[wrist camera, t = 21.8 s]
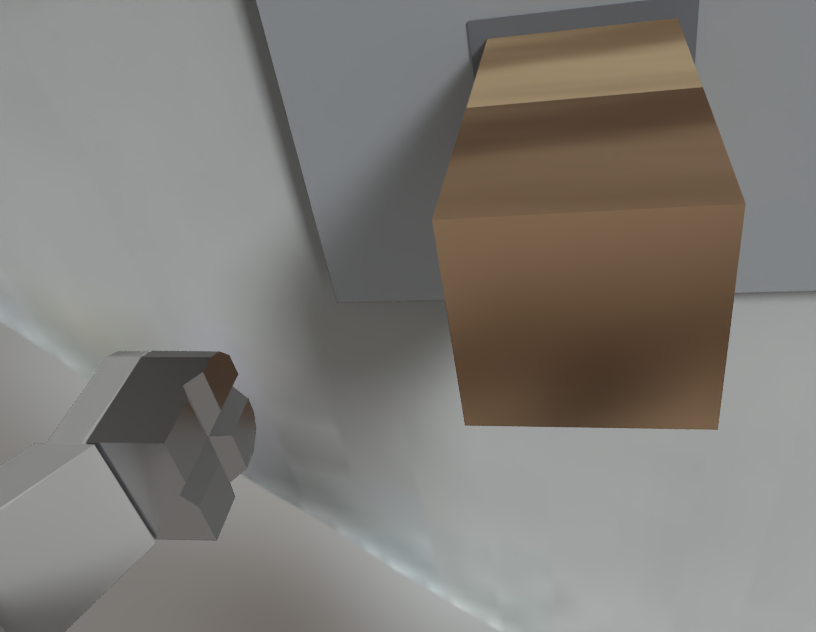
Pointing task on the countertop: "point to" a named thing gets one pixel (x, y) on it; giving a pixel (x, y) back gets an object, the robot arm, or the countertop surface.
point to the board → (448, 97)
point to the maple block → (584, 64)
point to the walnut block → (590, 261)
